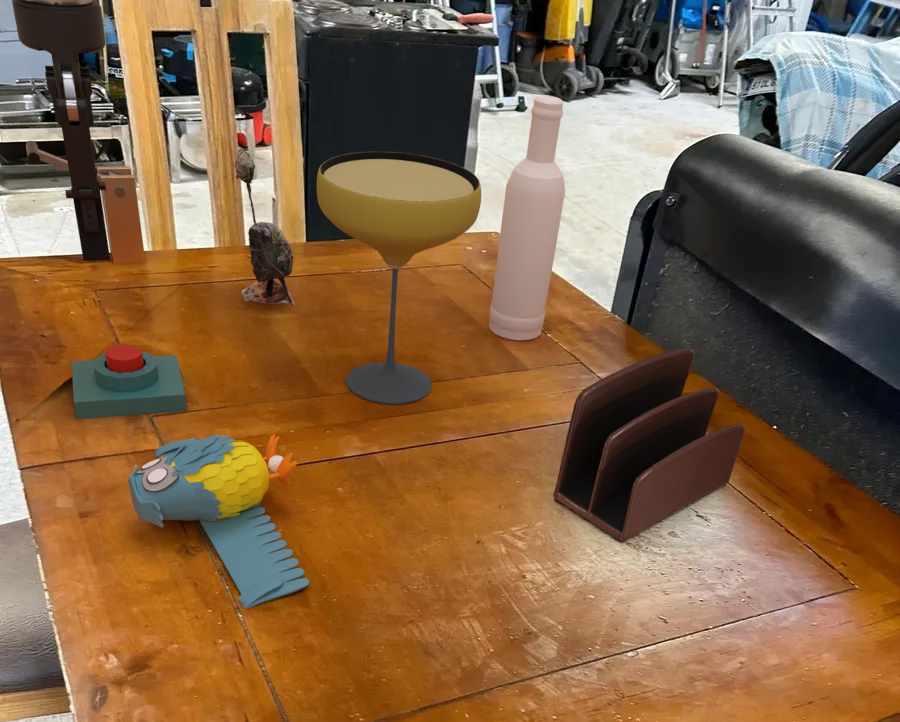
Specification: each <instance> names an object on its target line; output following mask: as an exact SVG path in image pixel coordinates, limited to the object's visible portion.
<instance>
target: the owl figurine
mask: <svg viewBox="0 0 900 722" xmlns="http://www.w3.org/2000/svg"><path fill="white" fill-rule="evenodd" d="M228 437H229V435H228V434H222V435H221V433H218V434H215V435H211V436H208V437H203V438H199V439H198V438H197V439H196V437H191V438H190V439H180V440H179V439H178V440H175V441H171V442H168V443H166V444H164V445H161V446H160V447H159V448H157V449H155V450H154V455H155V457H156V458H157V459H153V460H150V461H148V462H147V463H145V464H143V465H142V466H141V467H140V468H139V467H138V466H135V468H134V470H133V471H132V473H131V474H130V475H129V477H128V479H127V483H128V487H129V492H130V497H131V504H132V506H133V510H134V511H135V514H136V516H137V518H138V519H139V520H141V521H144V522H148V523H150V524H152V525H155V526H158V527H159V528H164V524H163V521H199V523H200V524H201V527H202V528H203V530H204V531H205V534H206V535H207V537H208V538H209V540H210V542H211V544H212V546H213V547H214V550H215V551H216V552H217V554H218V556H219V557H220V559H221V561H222V563H223V565H224V567H225V568H226V570H227V572H228V574H229V575H230V577H231V579H232V581H233V583H234V584H235V586H236V589H238V592H239V593H240V595H239V596H238V598H237V601H239V603H240V604H241V606H242V607H243V608H244V610H248V609H250V608H253V607H255V606H257V605H261V604H263V603H265V602H269V601H273V600H276V599H277V598H281V597H285V596H288V595H291V594H293V593H296V592H298V591H301V590H302V589H303V590H304V589H305V588H306V587H308V585H309V584H310V580H309V578H307V577H303V576H304V575H305V574H306V571H305V569H304V568H301V567H297V566H299V559H298V558H296V557H292V558H290V557H291V556H293V553H294V552H293V550H292V549H291V548H286V547H287V545H288V542H287V541H286V540H284V539H281V538H282V533H281V532H280V531H275V530H276V528H277V525H276V524H275V523H273V522H271V520H272V519H271V516H269V515H268V514H265V513H266V509H265V507H263V506H260V505H261V502H262V500H263V498H264V495H265V494H266V493H267V492H268V491H269V486H270V480H273V479H276V478H279V480H280V482H281V483H282V484H285V485H288V486H291V483H290V479H289V476H290V475H291V473H292V471H294V469H295V468H296V467H297V465H298V461H297V460H294V461H291V459H292V458H293V452H288V453H287V454H286V455H285V456H284V457H283V456H282V455H277V447H278V443H279V441H280V435H277V436H276V433H273V434H272V435H270V437H269V439H268V441H267V444H266V449H265V454H264V456H262V454H261V453H260V451H259V450H258V448H256V446H254V445H252V444H250V443H249V442H246V441H243V440H241V439H235V438H234V437H233V438H232V437H231V438H228ZM269 471H271V472H272V473H270V472H269Z"/></svg>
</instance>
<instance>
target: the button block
mask: <svg viewBox="0 0 900 722" xmlns="http://www.w3.org/2000/svg"><path fill="white" fill-rule="evenodd" d="M142 355H143V362H144V367H143V368H142V369H140V370H137V371H134V372H125V373H119V372H114V371H110V370H109V369H108V367H107V361H106V356H105V353H102V354H101V355H99V356H97V358H96V359H88V360H85V359H83V360H71V376H72V378H71V379H72V397H73V399H72V400H73V407H74V412H75V416H76V417H75V418H76V419H77V420H85V419H97V418H112V417H125V416H126V417H127V416H139V415H152V414H153V415H154V414H164V413H177V412H178V413H181V412H188V407H187V406H188V405H187V397H186V392H185V387H184V382H183V378H182V374H181V370H180V364H179V361H178V356H177V355H176V354H175V355H173V354H172V355H159V356H158V355H157V356H154V355H152V354H150V353H148V352H147V351H142Z"/></svg>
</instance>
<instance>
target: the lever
mask: <svg viewBox="0 0 900 722" xmlns="http://www.w3.org/2000/svg"><path fill="white" fill-rule="evenodd" d="M25 148H26V155H27V160H28V162H29V163H31V164H32V165H37V164H39V163H40V162H41V161H42V162H44V163H46V164H48V165H52V166H54V167H57V168H60V169H62V170H65V171H67V172H69V167H68V162H67V159H64V158H61V157H59V156H57V155H54V154H51V153H49V152H46V151H44V150H41V149H40V148H39V147H38V144H37V143H36V142H35V141H34V140H28V141H27V142H26V144H25ZM101 175H102V174H99V173H98V174H97V175H96V176H97V180H98V181H99V182H101V179H100V176H101ZM108 175H118V174H116V173H113V172H111V171H109V172H108Z"/></svg>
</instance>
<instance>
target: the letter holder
mask: <svg viewBox="0 0 900 722" xmlns="http://www.w3.org/2000/svg"><path fill="white" fill-rule="evenodd" d="M694 359H695V350H694V349H693V348H689V347H683V348H677V349H672V350H668V351H664V352H661V353H657V354H655V355H652V356H649V357H646V358H644V359H642V360H639V361H637V362H634V363H632V364H630V365H628V366H625V367H623V368H621V369H619V370H617V371H615V372H613V373H611V374H609V375H607V376H605V377H603V378H601V379H599V380H597V381H596V382H594V383H592V384H591V385H589V386H586V387H584V389H583V390H582V391H581V392H580V393H578V395H577V397H576V399H575V401H574V404H573V408H572V411H571V412H572V413H571V416H570V420H569V423H568V429H567V432H566V438H565V443H564V448H563V452H562V455H561V461H560V465H559V470H558V475H557V480H556V484H555V487H554V491H553V500H554V501H556V502H558V503H560V504H561V505H563V506H564V507H566V508H568V509H569V510H571V511H572V512H574V513H575V514H577V515H578V516H579V517H581V518H583V519H584V520H586V521H587V522H589V523H591V524H592V525H594V526H595V527H597V528H598V529H600V530H601V531H603V532H604V533H606V534H608V535H609V536H611V537H612V538H614V539H615V540H617V541H618V542H620V543H623V542H625V541H627V540H628V539H630V538H633V537H634V536H636V535H638V534H639V533H642V532H643V531H645V530H647V529H648V528H649V527H652V526H653V525H656V524H657V523H659V522H660V521H663V520H664V519H666V518H668V517H670V516H671V515H672V514H675V513H677V512H679V511H680V510H682V509H684V508H686V507H688V506H689V505H691V504H693V503H695V502H696V501H698V500H700V499H701V498H703V497H705V496H707V495H709V494H710V493H712V492H714V491H716V490H717V489H719V488H721V487H723V486H725V485H726V484H728V483H729V482H730V480H731V477H732V473H733V471H734V467H735V464H736V462H737V461H736V460H737V459H738V455H739V451H740V448H741V445H742V442H743V439H744V436H745V433H746V425H745V424H744V423H741V422H737V423H734V424H730V425H727V426H724V427H722V428H719V429H717V430H714V431H712V432H709V433H707V432H708V429H709V426H710V423H711V420H712V417H713V413H714V411H715V407H716V404H717V402H718V399H719V396H720V389H719V388H718V387H707V388H703V389H698V390H695V391H691V392H689V393H686V394H683V392H684V389H685V387H686V386H685V385H686V383H687V380H688V377H689V374H690V372H691V368H692V366H693V362H694Z"/></svg>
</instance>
